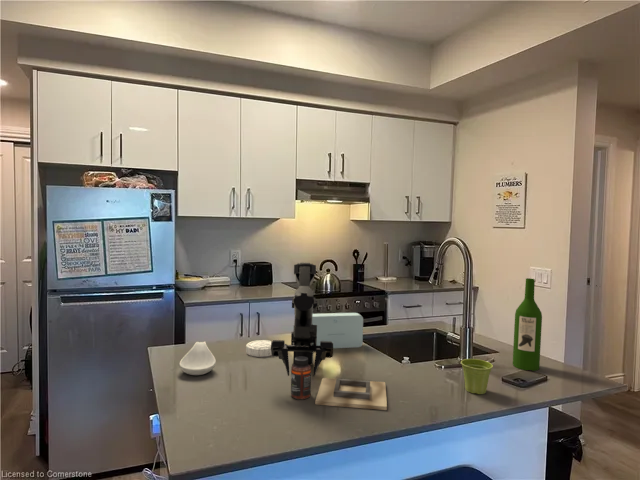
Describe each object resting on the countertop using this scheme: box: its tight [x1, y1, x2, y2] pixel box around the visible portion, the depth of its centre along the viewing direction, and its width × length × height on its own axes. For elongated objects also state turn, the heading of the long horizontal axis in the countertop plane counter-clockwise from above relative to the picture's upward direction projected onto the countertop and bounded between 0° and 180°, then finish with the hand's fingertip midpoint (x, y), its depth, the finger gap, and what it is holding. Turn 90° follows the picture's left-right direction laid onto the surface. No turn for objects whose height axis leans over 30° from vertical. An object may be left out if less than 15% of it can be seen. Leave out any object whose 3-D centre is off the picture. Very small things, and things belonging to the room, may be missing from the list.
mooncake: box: [245, 339, 273, 358], centre depth 167 cm, size 12×12×4 cm
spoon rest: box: [179, 341, 217, 376], centre depth 149 cm, size 24×12×7 cm, turn 13°
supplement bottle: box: [290, 356, 312, 400], centre depth 126 cm, size 6×6×11 cm
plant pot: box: [460, 358, 494, 395], centre depth 134 cm, size 9×9×9 cm
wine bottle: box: [512, 277, 543, 372], centre depth 157 cm, size 9×9×32 cm
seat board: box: [314, 377, 388, 411], centre depth 129 cm, size 20×18×2 cm
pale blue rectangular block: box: [312, 312, 364, 349], centre depth 176 cm, size 23×6×13 cm, turn 103°
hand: (301, 375), depth 125 cm, fingers open, 7 cm apart
